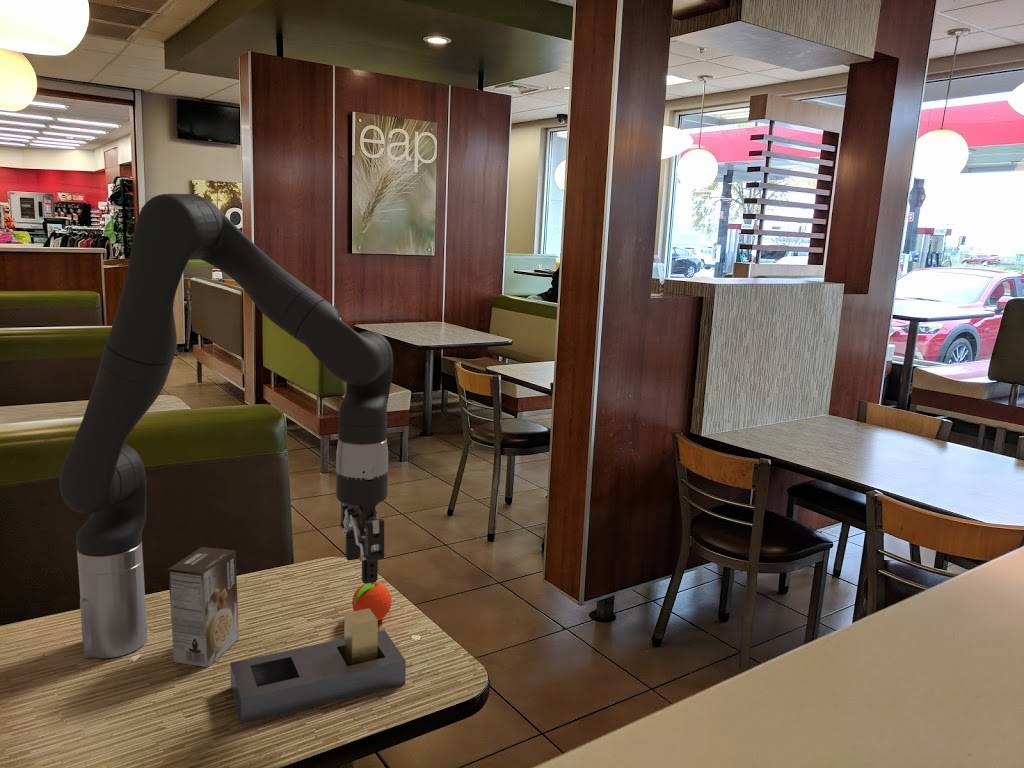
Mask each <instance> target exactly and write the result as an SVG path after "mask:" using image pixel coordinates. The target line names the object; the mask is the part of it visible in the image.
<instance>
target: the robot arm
mask: <svg viewBox="0 0 1024 768" xmlns="http://www.w3.org/2000/svg"><path fill="white" fill-rule="evenodd" d="M130 249H131V250H130V254H129V255H130V256H129V259H128V266H127V272H126V276H125V281H124V283H123V284H124V285H123V287H122V291H121V294H120V298H119V301H118V305H117V307H116V312H115V316H114V318H113V323H112V325H111V329H110V332H109V334H108V337H107V340H106V343H105V345H104V349H103V353H102V355H101V359H100V363H99V365H98V366H99V367H98V371H97V374H96V378H95V381H94V385H93V387H92V390H91V393H90V395H89V396H90V397H89V399H88V403H87V405H86V408H85V412H84V415H83V417H82V420H81V423H80V425H79V428H78V430H77V432H76V435H75V437H74V439H73V442H72V444H71V446H70V447H69V449H68V452H67V454H66V457H65V458H64V460H63V463H62V467H61V469H60V474H59V480H58V482H59V483H58V484H59V491H60V495H61V496H60V497H61V498H62V499H63V502H64V504H65V505H66V506H67V507H68V508H69V509H71V510H72V511H74V512H76V513H79V514H91V515H90V516H89V518H88V519H87V520H86V521H85V523H84V524H83V525H82V526H80V528H79V529H78V531H77V533H76V538H75V541H76V544H75V545H76V555H77V568H78V581H79V582H78V583H79V595H80V597H79V598H80V599H79V608H80V610H79V611H80V622H81V623H80V624H81V636H82V637H81V638H82V647H83V648H82V649H83V658H84V659H88V658H97V659H111V658H112V659H113V658H117V657H122V656H124V655H128V654H131V653H133V652H135V651H137V650H139V649H141V648H142V647H143V646H144V645H145V644H146V643H147V640H148V625H147V609H146V608H147V607H146V592H145V591H146V590H145V589H146V588H145V573H144V572H145V571H144V556H143V540H142V538H143V536H142V534H143V530H144V527H145V525H146V520H147V475H146V469H145V465H144V462H143V460H142V458H141V456H140V454H139V453H138V452H137V450H135V449H134V447H132V446H130V445H128V444H126V440H127V439H128V437H129V435H130V434H131V432H132V431H133V430H134V428H135V427H136V426H137V424H138V423H139V422H140V420H141V419H142V418H143V417H144V416H145V414H146V413H147V412H148V410H150V408H151V407H152V405H154V402H156V400H157V398H158V397H159V396H160V394H161V392H162V390H163V388H164V387H165V384H166V382H167V379H168V377H169V374H170V372H171V371H170V370H171V367H172V364H173V362H174V359H175V356H176V355H175V354H176V351H177V350H176V349H177V341H178V340H177V337H178V336H177V335H178V334H177V328H176V321H175V313H174V309H175V308H174V306H175V298H176V293H177V290H178V287H179V284H180V281H181V278H182V276H183V274H184V272H185V269H186V267H187V265H188V263H189V262H190V260H198V259H199V260H201V261H202V262H205V263H207V264H208V265H210V266H213V267H214V268H216V269H218V270H220V271H221V272H223V273H225V274H226V275H227V276H228V277H230V278H231V279H232V280H234V282H236V283H237V285H239V286H240V287H241V289H242V290H244V292H245V293H246V295H248V297H249V298H250V300H251V301H252V302H253V303H254V305H255V306H256V307H257V308H258V309H259V311H260V312H261V313H262V314H263V315H264V316H266V318H268V320H269V321H271V322H272V323H274V324H275V325H276V326H277V327H279V328H280V329H282V330H283V331H284V332H285V333H287V334H288V335H290V336H291V337H292V338H294V339H296V341H298V342H299V343H301V344H303V345H304V346H305V347H306V348H307V349H308V350H309V351H310V352H311V354H312V355H313V356H314V357H315V358H316V359H317V360H318V361H319V362H320V364H322V365H323V366H324V367H325V369H327V370H328V371H329V372H330V373H331V374H332V375H334V377H336V378H338V379H339V380H341V381H343V382H344V383H346V387H345V388H346V389H345V395H344V397H343V399H342V401H341V402H340V405H339V408H338V415H337V416H338V417H337V418H338V420H337V421H338V423H337V424H338V429H337V431H338V432H337V438H338V439H337V447H336V453H335V454H336V456H335V496H336V500H338V501H339V502H340V523H339V526H340V528H341V529H343V531H342V533H343V536H344V537H345V544H344V545H345V546H344V547H345V551H344V553H345V555H344V557H345V559H346V561H355V560H359V559H360V558H361V581H362V583H363V584H368V583H373V582H378V579H379V577H378V574H379V573H378V572H379V560H384V559H385V520H384V518H379V514H378V511H377V510H376V507H377V505H379V504H380V503H382V502H384V501H385V500H386V499H387V497H388V494H389V493H388V489H389V488H388V483H389V482H388V481H389V480H388V479H389V448H388V401H389V397H390V391H391V387H392V385H391V384H392V379H393V371H394V354H393V349H392V345H391V343H390V342H389V341H388V340H387V338H386V337H385V336H384V335H382V334H381V333H379V332H376V331H372V330H367V331H361V332H357V331H356V330H354V329H353V328H352V327H350V326H349V325H348V324H347V323H345V321H343V320H342V319H341V318H340V317H341V316H340V312H339V311H338V308H336V307H335V306H334V305H333V304H331V302H329V301H328V300H326V299H325V298H324V297H323V296H321V295H320V294H318V293H317V292H315V290H313V289H312V288H310V287H309V286H307V285H306V284H304V283H303V282H302V281H300V280H299V279H297V278H296V277H295V276H293V275H292V274H291V273H290V272H288V271H287V270H285V269H284V268H283V267H282V266H281V265H279V264H278V263H277V262H275V261H274V259H272V258H271V257H269V256H268V255H267V254H266V253H265V252H264V251H263V250H262V249H260V248H259V246H257V245H256V243H254V242H253V241H252V240H250V239H249V238H248V237H247V236H246V234H244V232H242V231H241V230H240V229H239V228H238V226H236V225H235V224H234V223H233V221H231V219H229V217H227V215H226V214H225V213H223V211H222V210H220V209H219V208H218V206H217V205H216V204H214V203H213V202H211V201H210V200H209V199H208V198H206V197H203V196H201V195H197V194H193V193H192V194H191V193H162V194H157V195H155V196H153V197H151V198H150V199H148V200H147V201H146V202H145V203H144V205H143V206H142V207H141V209H140V211H139V214H138V216H137V219H136V222H135V226H134V232H133V237H132V243H131V248H130ZM372 547H373V550H372Z"/></svg>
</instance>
